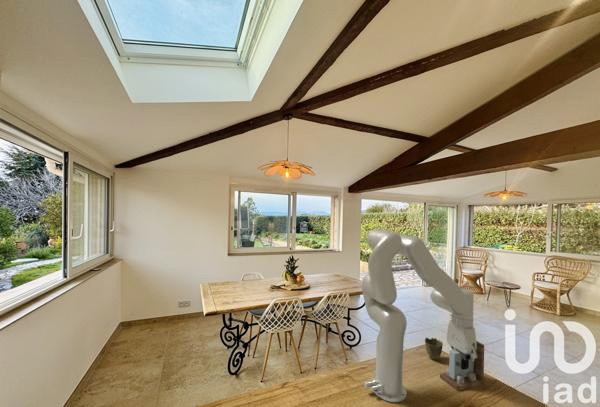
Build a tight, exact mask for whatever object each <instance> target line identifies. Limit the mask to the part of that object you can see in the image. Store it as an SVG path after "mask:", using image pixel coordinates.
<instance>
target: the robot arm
mask: <svg viewBox="0 0 600 407" xmlns="http://www.w3.org/2000/svg"><path fill="white" fill-rule="evenodd" d="M366 243H367V245H368V246H369V248H371V249H372V251H371V253H370V254H369V257H368V260H367V268H368V273H367V274H366V275H364V277H363V279H362V282H361V291H362V296H363V300H364V304H365V308H366V313H367V315H368V316H369V318H370V319H371V320H372V321H373V322H375V324H376V325H377V326H378V327H379V331H378V332H379V333H378V334H377V336H376V352H375V354H376V355H375V356H376V357H375V375H373V376H372V379H371V380H368V381H364V382H363V386H364V388H365V389H368V388H369V389H370V390H371V391H372V392H373V394H374V395H375V396H376V397H378V398H379V399H382V400H383V401H387V402H390V403H400V402H403V401H404V400H406V398H407V392H408V391H407V389H406V386H405V385H403V373H404V372H403V371H404V370H403V369H404V368H403V367H404V366H403V365H404V342H405V341H404V340H405V335H406V329H407V325H408V324H407V323H408V322H407V318H406V316H405V314H404V312H403V311H402V310H401V309H400V308H398V307H397V306H396V305H394V303H395V301H396V300H397V296H398V292H397V286H396V282H395V278H394V273H393V268H392V267H393V266H392V265H393V260H394V259H395V257H396V255H400V256H404V257H406V259H407V260H408V262H409V264H410V265H411V266H412V268H413V270H414V271H415V273H416V274H417V276H418V278H420V279H421V281H423V282H424V283H425V284H428V285H429V286H430V287H432V288H433V290H432V291H431V293H430V300H431V301H432V303H433V304H434V305H435V306H437V307H439V308H441V309H443V310H445V311H447V312H449V316H450V317H451V318H450V320H449V322H448V325H447V332H446V343H447V344H448V345H449V346H450V347H451V350H456V349H457V350H459V351H460V352H462V353H463V359H461V369H462V370H464V369H468V368H469V359H476V358H477V354H476V341H477V334H476V330H475V327H474V299H475V298H474V292H472V291H471V290H469V289H465V288H461V287H460V286H459V284H458V283H457V282H456V281H455V280H454V279H453V278H452V277H451V276H450V275H449V274H448V273H447V272H446V271H444V270H443V269H442V268H441V267H440V266H439V264H438V263H437V261H436V260H435V258H434V256H433V255H432V253H431V251H430V250H429V247H427V245H426V244H425V242H424V240H423V239H421V238H420V237H418V236H414V235H409V234H403V233H397V232H395V231H391V230H387V229H386V230H385V229H380V228H379V229H378V228H374V229H371V231H369V232H368V233H367V235H366ZM470 353H471V354H470ZM466 354H467V356H466Z"/></svg>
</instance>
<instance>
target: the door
mask: <svg viewBox="0 0 600 407" xmlns="http://www.w3.org/2000/svg"><path fill="white" fill-rule="evenodd" d="M448 352H449V353H448V354H449V355H448V356H449V358H448V360H449V362H448V364H449V365H448V368H449V376H450V377H451V378H453V379H454V380H455V379H457V376H458V375H463V376H464V377H468V373H472V372H473V367H474V359H469V368H468V369H464V370H462V369H461V359H463V353H462V352H460V351H459V350H457V349H456V350H452V349H451V350H449V351H448ZM470 354H471V353H470ZM466 356H467V354H466Z"/></svg>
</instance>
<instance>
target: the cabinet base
mask: <svg viewBox="0 0 600 407" xmlns="http://www.w3.org/2000/svg"><path fill="white" fill-rule="evenodd" d="M476 354H477V358H476V359H474V367H473V372H472V373H468V377H464V376H463V375H458V376H457V379H455V380H454V379H453V378H451V377H450V376H449V367H447V368H446V370H445V371H446V372H444V373H440V374H439V379H441V380H442V381H444V382H445V383H446V384H447V385H448V386H449V387H452V388H453V389H454V390H455V391H462V390H465V389H469V388H473V387H478V386H482V385H484V384H485V378H484V376H485V375H484V373H485V372H484V371H485V344H483V343H482V342H479V341H478V340H476Z"/></svg>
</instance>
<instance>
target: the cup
mask: <svg viewBox="0 0 600 407" xmlns="http://www.w3.org/2000/svg"><path fill="white" fill-rule="evenodd" d="M424 344H425V351H426V353H427V354H428V357H429V358H430V359H431V360H433V361H436V360H438V358H439V357H440V356H441V355H442V352H443V347H444V346H443V345H444V343H443V342H442V341H441V340H440V339H437V338H436V337H431V338H429V337H426V338H424Z"/></svg>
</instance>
